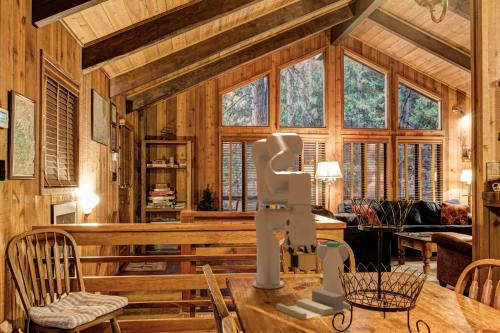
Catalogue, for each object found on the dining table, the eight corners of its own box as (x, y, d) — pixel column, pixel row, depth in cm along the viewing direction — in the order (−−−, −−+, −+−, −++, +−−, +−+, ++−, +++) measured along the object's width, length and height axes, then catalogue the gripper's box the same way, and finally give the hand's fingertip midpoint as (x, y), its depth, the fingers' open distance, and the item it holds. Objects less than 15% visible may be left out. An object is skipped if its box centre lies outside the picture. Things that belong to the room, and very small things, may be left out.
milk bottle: (343, 298, 172) (343, 243, 172) (322, 297, 173) (322, 243, 174) (343, 293, 179) (343, 241, 180) (323, 292, 181) (323, 240, 181)
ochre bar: (285, 265, 156) (285, 251, 156) (294, 264, 158) (294, 250, 158) (305, 270, 147) (305, 256, 147) (315, 269, 149) (315, 255, 149)
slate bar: (311, 303, 161) (311, 290, 161) (320, 302, 163) (320, 289, 163) (333, 311, 152) (333, 297, 152) (343, 309, 154) (342, 295, 154)
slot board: (276, 311, 155) (276, 303, 155) (324, 302, 166) (324, 295, 166) (302, 322, 143) (302, 314, 143) (353, 312, 154) (352, 304, 154)
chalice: (352, 276, 211) (352, 243, 211) (342, 282, 199) (342, 247, 199) (323, 273, 218) (323, 241, 218) (311, 279, 206) (311, 244, 206)
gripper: (285, 211, 145) (286, 271, 145) (327, 209, 154) (327, 265, 154) (272, 210, 152) (272, 267, 151) (312, 208, 161) (312, 262, 160)
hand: (300, 265), depth 152 cm, fingers closed on ochre bar, 4 cm apart
